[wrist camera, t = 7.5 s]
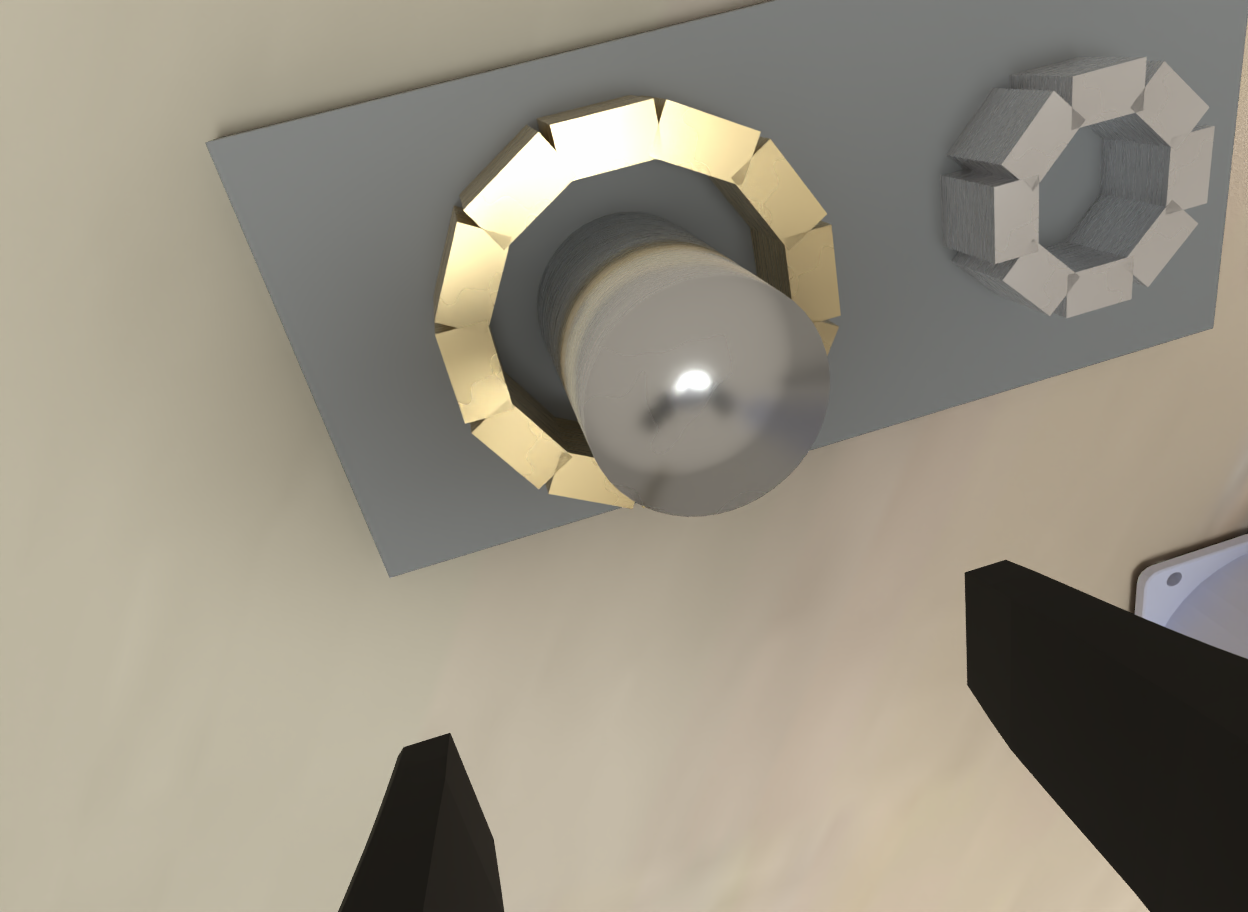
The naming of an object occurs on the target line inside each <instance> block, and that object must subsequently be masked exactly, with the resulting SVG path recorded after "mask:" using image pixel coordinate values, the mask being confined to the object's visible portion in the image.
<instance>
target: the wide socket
mask: <svg viewBox="0 0 1248 912" xmlns="http://www.w3.org/2000/svg"><path fill="white" fill-rule="evenodd" d="M537 122H538V126H539V130H540V133H539V132H538V131H536V130H534V129H533V128H531V127H529V126H528V125H525V127H524V128H523V129H522V130H521V131H520V132H519V133H518V134H517V135H516V136H515V137H514V138H513V139H512V140H511V141H510V142H509V143H508V144H507V145H506V146H505V147H504V149H503V150H502V151H501V152H500V153H499V154H498V155H497V156H496V157H495V158H494V159H493V160H492V161H491V162H490V163H489V164H488V165H487V166H486V167H485V168H484V169H483V170H482V172H481V173H480V174H479V175H478V176H477V177H476V178H475V179H474V180H473V181H472V182H471V183H470V184H469V185H468V186H467V187H466V188H465V189H464V190H463V191H462V192H461V194H460V195H459V196H460V199H461V203H462V207H463V208H462V207H458V206H455V205H454V206H453V211H452V215H451V220H450V224H449V228H448V233H447V237H446V242H445V246H444V251H443V255H442V260H441V264H440V269H439V273H438V278H437V282H436V287H435V291H434V295H433V301H434V323H435V336H436V339H437V342H438V345H439V348H440V351H441V354H442V357H443V360H444V363H445V366H446V369H447V372H448V375H449V378H450V381H451V384H452V387H453V390H454V392H455V395H456V398H457V401H458V404H459V407H460V410H461V413H462V416H463V419H464V422H465V424H466V423H470V425H471V433H472V434H473V435H474V436H476V437H477V438H478V439H479V440H480V441H482V442H483V443H484V444H485V445H486V446H488V447H489V448H490V449H491V450H492V451H494V452H495V453H496V454H497V455H498V456H500V457H501V458H502V459H503V460H504V461H505V462H507V463H508V464H509V465H510V466H511V467H513V468H514V469H515V470H516V471H517V472H519V473H520V474H521V475H522V476H523V477H525V478H526V479H527V480H528V481H529V482H531V483H532V484H533V485H534V486H535V487H537V488H538V489H540V488H541V487H542V486H543V485H544V484H546V487H547V491H548V494H553V495H558V496H564V497H569V498H575V499H580V500H586V501H591V502H597V503H603V504H608V505H614V506H619V507H625V508H630V509H633V506H634V503H635V501H633V500H631V499H630V498H628V497H627V496H626V495H624V494H623V493H621V492H620V491H619V490H618V489H617V488H616V487H615V486H614V485H613V484H612V483H611V482H610V481H609V480H608V479H607V477H606V476H605V475H604V473H603V472H602V471H601V469H600V468H599V466H598V464H597V462H596V460H595V458H594V457H593V454H592V452H591V450H590V447H589V445H588V443H587V440H586V438H585V436H584V433H583V431H582V429H581V426H580V424H579V422H578V421H573V420H568V419H563V418H559V417H554V416H553V415H552V414H551V413H550V412H549V411H548V410H547V409H546V408H544V407H543V406H542V405H541V404H540V403H539V402H538V401H537V400H536V399H534V398H533V397H532V396H531V395H530V394H529V393H528V392H527V391H526V390H524V389H523V388H522V387H521V386H520V385H519V384H518V383H517V382H516V381H514V380H513V379H512V378H511V377H510V376H509V375H508V374H507V373H506V372H504V370H503V367H502V364H501V361H500V357H499V354H498V351H497V348H496V344H495V341H494V338H493V334H492V331H491V328H490V325H489V324H490V321H491V317H492V313H493V309H494V305H495V301H496V297H497V293H498V289H499V285H500V281H501V277H502V273H503V269H504V265H505V261H506V257H507V253H508V249H509V245H510V244H511V243H512V242H513V241H514V240H515V239H516V238H517V237H518V236H519V235H520V233H521V232H522V231H523V230H524V229H525V228H526V227H527V226H528V225H529V224H530V223H531V222H532V221H533V220H534V219H535V218H536V217H537V216H538V215H539V214H540V213H541V212H542V211H543V210H544V209H545V208H546V207H547V206H548V205H549V204H550V203H551V202H552V201H553V200H554V199H555V198H556V197H557V196H558V195H559V194H560V193H561V192H562V191H563V190H564V189H565V188H566V187H567V185H568V184H569V183H570V182H571V181H574V180H578V179H581V178H585V177H589V176H593V175H596V174H600V173H604V172H608V171H612V170H615V169H619V168H623V167H627V166H631V165H634V164H638V163H642V162H646V161H649V160H653V159H659V160H663V161H666V162H669V163H672V164H675V165H678V166H681V167H684V168H687V169H691V170H694V171H697V172H700V173H703V174H706V175H707V176H708V177H709V178H710V179H711V181H712V182H713V183H714V184H715V186H716V187H717V188H718V189H719V190H720V192H721V193H722V194H723V195H724V197H725V198H726V199H727V200H728V201H729V203H730V204H731V205H732V206H733V207H734V209H735V210H736V211H737V212H738V214H739V215H740V216H741V217H742V218H743V220H744V221H745V222H746V223H747V225H748V226H749V227H750V231H751V238H752V244H753V251H754V258H755V265H756V272H757V277H759V278H760V279H762V280H763V281H765V282H766V283H768V284H769V285H771V286H773V287H774V288H776V289H777V290H779V291H780V292H782V293H783V294H785V295H786V296H787V297H789V298H790V299H792V300H793V301H794V302H795V303H796V304H797V305H798V306H799V307H800V308H801V309H802V310H803V311H804V312H805V313H806V314H807V316H808V317H809V318H810V320H811V321H812V322H813V324H814V325H815V327H816V329H817V331H818V333H819V335H820V336H821V339H822V342H823V344H824V347H825V350H826V354H827V355H828V353H829V350H830V348H831V346H832V343H833V341H834V338H835V336H836V333H837V331H838V328H839V326H837V325H836V324H834V323H833V322H831V321H830V320H828V319H831V318H834V317H837V316H841V313H840V303H839V293H838V283H837V274H836V264H835V254H834V245H833V235H832V225H831V224H829V223H826V222H823V221H821V220H822V219H823V218H824V217H825V216H826V215H827V213H826V211H825V210H824V209H823V208H822V206H821V205H820V204H819V202H818V201H817V200H816V198H815V197H814V196H813V194H812V193H811V192H810V190H809V189H808V188H807V186H806V185H805V184H804V182H803V181H802V180H801V179H800V177H799V176H798V175H797V173H796V172H795V171H794V169H793V168H792V167H791V165H790V164H789V163H788V161H787V160H786V159H785V157H784V156H783V155H782V153H781V152H780V151H779V149H778V148H777V147H776V146H775V144H774V143H773V142H772V140H771V139H769V138H764V137H760V133H761V132H760V131H757V130H754V129H751V128H748V127H746V126H743V125H740V124H737V123H734V122H731V121H728V120H725V119H722V118H720V117H717V116H714V115H711V114H708V113H705V112H702V111H699V110H696V109H693V108H691V107H688V106H685V105H682V104H679V103H676V102H673V101H670V100H667V99H662V98H655V97H649V96H642V95H641V96H633V95H627V96H623V97H619V98H615V99H611V100H607V101H603V102H599V103H595V104H591V105H588V106H584V107H580V108H576V109H572V110H568V111H564V112H560V113H556V114H552V115H548V116H545V117H541V118H537ZM642 507H643V508H645V507H644V506H642Z"/></svg>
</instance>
